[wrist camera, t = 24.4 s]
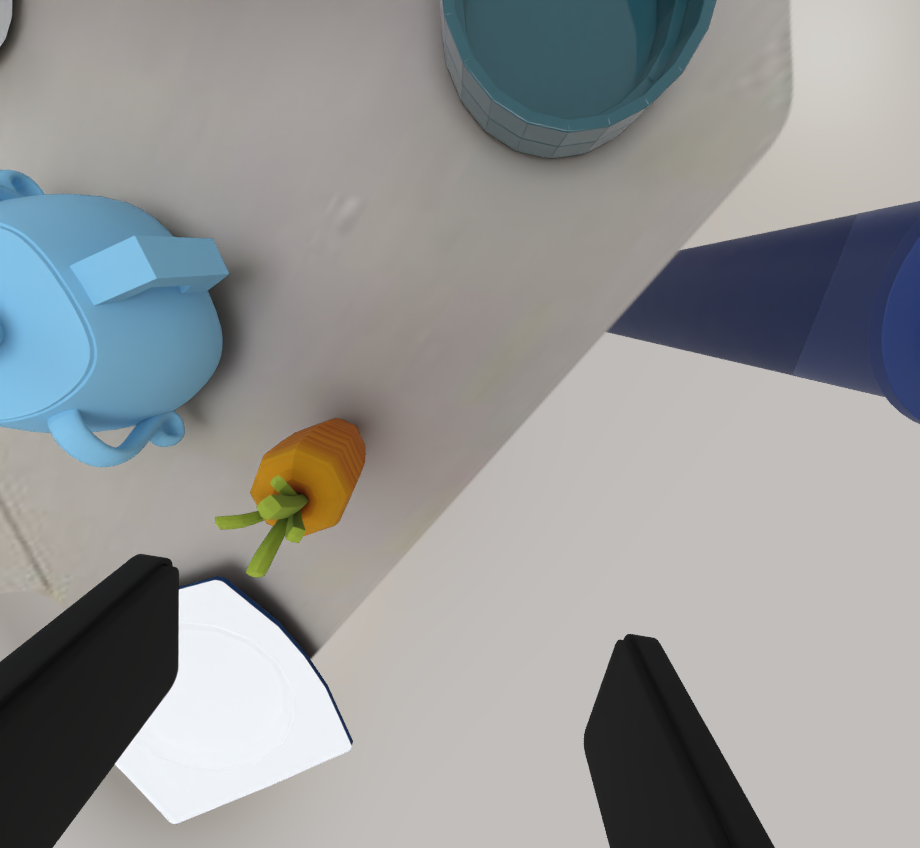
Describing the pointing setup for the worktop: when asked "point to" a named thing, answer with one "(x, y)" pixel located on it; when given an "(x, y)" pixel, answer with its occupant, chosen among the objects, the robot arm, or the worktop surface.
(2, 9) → the mug
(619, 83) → the bowl
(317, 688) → the plate
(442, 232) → the worktop surface
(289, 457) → the carrot
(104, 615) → the robot arm
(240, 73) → the worktop surface
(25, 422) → the teapot
